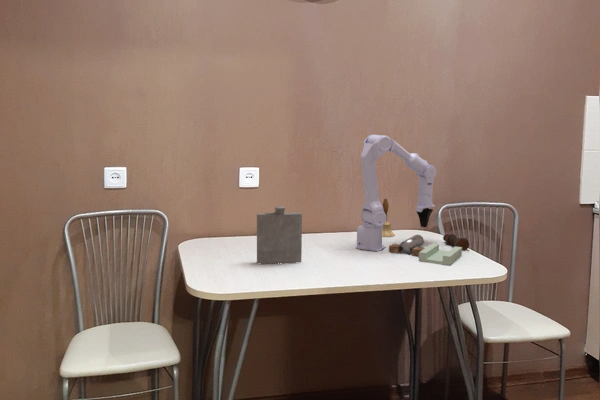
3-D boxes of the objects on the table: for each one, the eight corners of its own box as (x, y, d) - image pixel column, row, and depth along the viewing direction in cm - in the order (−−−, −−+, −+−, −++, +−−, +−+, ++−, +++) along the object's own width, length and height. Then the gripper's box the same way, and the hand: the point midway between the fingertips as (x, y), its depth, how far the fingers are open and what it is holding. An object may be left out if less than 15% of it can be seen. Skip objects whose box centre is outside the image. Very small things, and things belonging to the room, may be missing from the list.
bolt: (447, 246, 236) (464, 254, 222) (438, 240, 235) (454, 248, 221) (454, 234, 236) (471, 241, 222) (445, 228, 235) (461, 235, 220)
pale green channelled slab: (418, 260, 206) (419, 252, 205) (432, 251, 220) (432, 243, 219) (449, 265, 200) (450, 256, 200) (461, 255, 214) (462, 247, 213)
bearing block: (388, 252, 218) (389, 245, 218) (392, 250, 221) (392, 243, 221) (421, 256, 212) (421, 250, 211) (424, 254, 215) (425, 248, 215)
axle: (412, 254, 214) (411, 241, 214) (399, 254, 217) (399, 241, 216) (424, 247, 226) (423, 234, 226) (412, 246, 229) (411, 234, 228)
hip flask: (300, 260, 205) (301, 205, 202) (302, 263, 201) (303, 207, 198) (256, 262, 202) (256, 206, 199) (257, 265, 198) (257, 208, 195)
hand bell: (389, 238, 242) (391, 200, 239) (371, 235, 246) (373, 199, 243) (397, 234, 249) (398, 198, 246) (379, 232, 253) (381, 196, 250)
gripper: (429, 196, 221) (427, 231, 223) (440, 192, 234) (438, 224, 236) (411, 195, 225) (410, 229, 227) (423, 190, 237) (422, 222, 239)
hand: (423, 226), depth 232 cm, fingers closed
